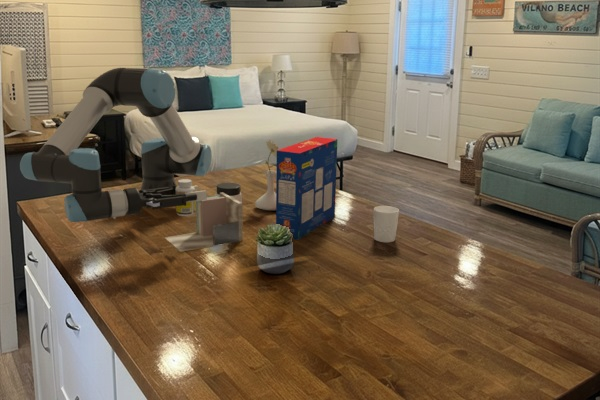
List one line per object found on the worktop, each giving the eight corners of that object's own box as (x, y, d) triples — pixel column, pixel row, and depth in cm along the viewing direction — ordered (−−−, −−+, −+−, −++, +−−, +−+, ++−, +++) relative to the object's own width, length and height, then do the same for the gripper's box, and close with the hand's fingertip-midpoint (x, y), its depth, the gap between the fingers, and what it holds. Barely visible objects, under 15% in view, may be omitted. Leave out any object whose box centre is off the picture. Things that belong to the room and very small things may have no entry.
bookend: (213, 244, 184) (212, 225, 183) (237, 240, 188) (237, 221, 187) (214, 245, 183) (214, 226, 182) (238, 241, 187) (238, 222, 186)
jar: (246, 220, 211) (245, 186, 208) (226, 224, 206) (225, 190, 203) (231, 213, 218) (231, 181, 215) (212, 217, 213) (211, 184, 210)
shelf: (164, 241, 190) (162, 200, 186) (223, 231, 200) (223, 192, 196) (180, 255, 178) (179, 212, 175) (242, 244, 188) (242, 203, 185)
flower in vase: (288, 212, 221) (289, 144, 214) (256, 213, 219) (256, 144, 212) (283, 202, 233) (283, 137, 226) (253, 203, 231) (253, 138, 224)
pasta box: (314, 213, 220) (316, 136, 213) (334, 217, 217) (337, 139, 209) (275, 235, 197) (276, 150, 189) (297, 240, 193) (299, 153, 185)
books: (197, 232, 195) (196, 197, 192) (220, 228, 199) (219, 193, 196) (203, 236, 191) (202, 201, 187) (226, 232, 195) (226, 197, 192)
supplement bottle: (187, 210, 185) (186, 177, 182) (199, 214, 182) (198, 180, 179) (172, 214, 181) (171, 180, 178) (184, 218, 177) (183, 184, 175)
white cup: (398, 236, 198) (401, 207, 195) (394, 244, 191) (396, 214, 188) (375, 233, 200) (376, 204, 197) (369, 241, 193) (371, 211, 190)
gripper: (116, 206, 179) (190, 197, 191) (134, 224, 164) (214, 212, 176) (114, 181, 177) (190, 173, 189) (133, 197, 162) (214, 187, 174)
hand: (201, 192), depth 182 cm, fingers closed on supplement bottle, 6 cm apart
